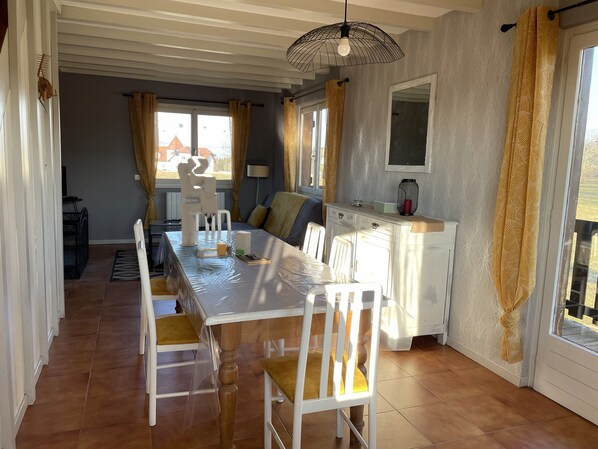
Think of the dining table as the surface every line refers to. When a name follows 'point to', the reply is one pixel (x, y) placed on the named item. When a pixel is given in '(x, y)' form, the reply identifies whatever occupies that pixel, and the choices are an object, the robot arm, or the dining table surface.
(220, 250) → the sleeve
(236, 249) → the skincare box
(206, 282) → the dining table surface
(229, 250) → the rail
